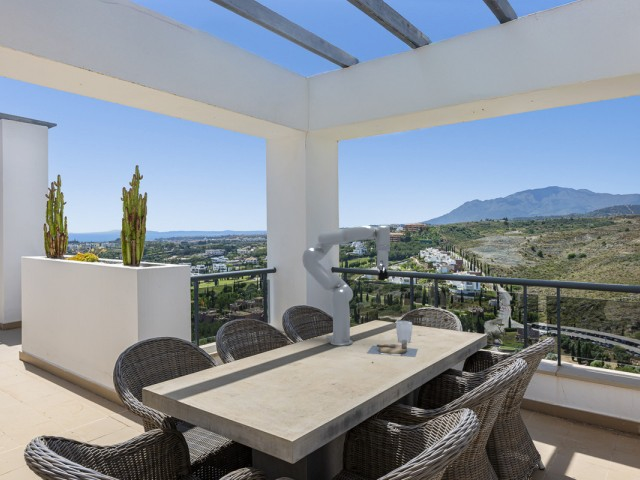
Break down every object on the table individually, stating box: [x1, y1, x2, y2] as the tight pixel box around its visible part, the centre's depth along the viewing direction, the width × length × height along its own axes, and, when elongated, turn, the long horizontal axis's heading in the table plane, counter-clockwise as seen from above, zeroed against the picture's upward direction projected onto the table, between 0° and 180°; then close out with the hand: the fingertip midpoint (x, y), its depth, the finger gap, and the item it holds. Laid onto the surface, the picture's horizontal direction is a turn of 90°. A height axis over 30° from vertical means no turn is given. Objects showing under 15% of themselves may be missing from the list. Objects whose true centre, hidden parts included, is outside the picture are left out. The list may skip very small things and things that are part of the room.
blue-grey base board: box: [366, 345, 419, 358], centre depth 220 cm, size 24×17×2 cm
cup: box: [395, 320, 413, 343], centre depth 243 cm, size 9×9×12 cm
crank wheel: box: [376, 340, 408, 354], centre depth 220 cm, size 15×14×6 cm
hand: (383, 279), depth 237 cm, fingers open, 9 cm apart
